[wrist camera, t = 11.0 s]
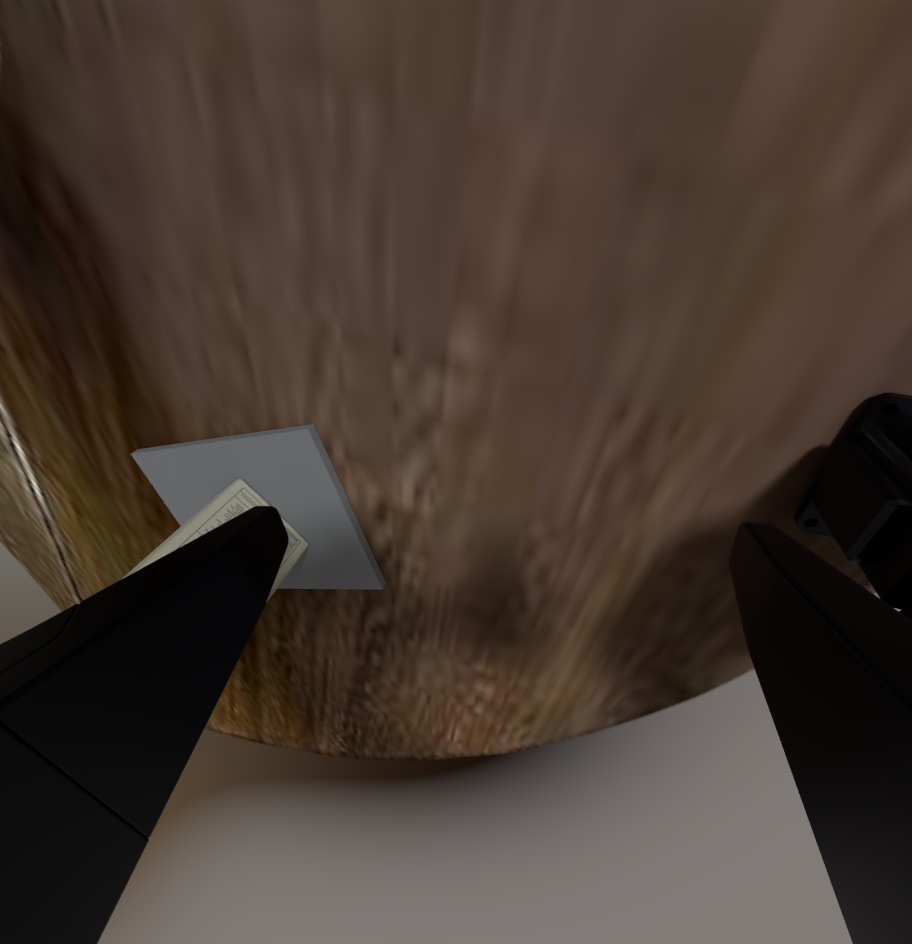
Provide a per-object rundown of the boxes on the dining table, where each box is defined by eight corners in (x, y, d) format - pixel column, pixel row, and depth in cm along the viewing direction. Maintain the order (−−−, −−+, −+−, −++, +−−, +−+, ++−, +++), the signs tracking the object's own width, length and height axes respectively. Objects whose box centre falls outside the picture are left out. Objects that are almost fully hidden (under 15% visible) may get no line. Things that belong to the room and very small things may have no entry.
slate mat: (313, 423, 25) (307, 428, 24) (385, 583, 31) (382, 589, 30) (138, 449, 30) (130, 453, 29) (228, 582, 36) (223, 587, 35)
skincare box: (208, 501, 30) (17, 663, 20) (243, 474, 28) (46, 641, 18) (277, 566, 32) (133, 743, 22) (315, 546, 30) (173, 732, 20)
